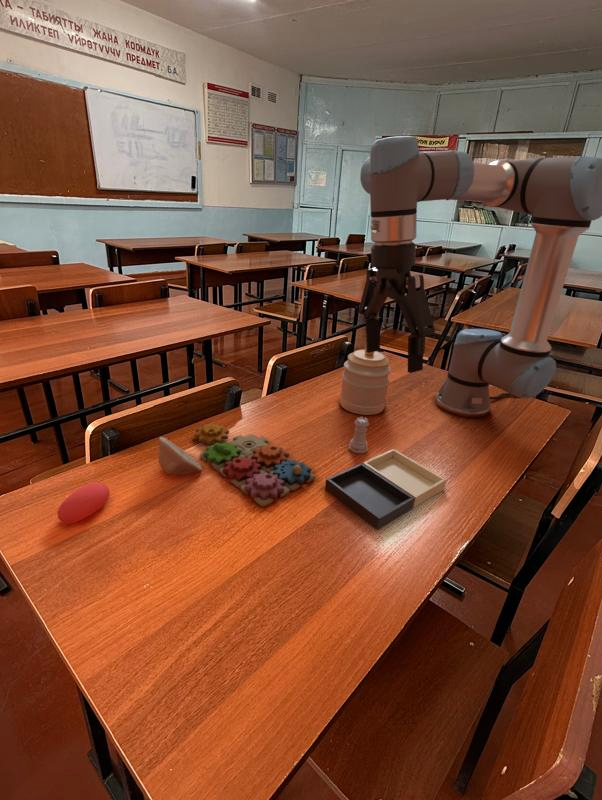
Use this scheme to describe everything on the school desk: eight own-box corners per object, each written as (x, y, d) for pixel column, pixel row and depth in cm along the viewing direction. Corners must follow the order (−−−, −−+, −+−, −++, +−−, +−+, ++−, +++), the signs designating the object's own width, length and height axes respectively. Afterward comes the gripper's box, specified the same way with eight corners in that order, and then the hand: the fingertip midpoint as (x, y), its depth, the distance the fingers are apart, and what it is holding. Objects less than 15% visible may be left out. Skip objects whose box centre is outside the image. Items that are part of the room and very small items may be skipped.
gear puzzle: (175, 440, 100) (174, 425, 98) (233, 420, 110) (233, 406, 109) (261, 510, 80) (262, 492, 79) (322, 478, 91) (323, 461, 89)
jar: (331, 398, 127) (337, 340, 119) (368, 393, 132) (377, 337, 125) (353, 419, 116) (362, 356, 109) (393, 412, 122) (404, 352, 114)
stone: (209, 465, 94) (210, 447, 86) (192, 492, 90) (191, 476, 82) (166, 442, 94) (164, 422, 86) (148, 469, 91) (143, 451, 82)
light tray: (391, 457, 100) (393, 448, 99) (444, 489, 91) (446, 479, 90) (361, 472, 94) (362, 462, 93) (413, 507, 84) (416, 497, 83)
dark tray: (360, 472, 94) (361, 462, 93) (412, 508, 84) (415, 498, 83) (324, 489, 88) (326, 478, 87) (377, 529, 78) (379, 518, 77)
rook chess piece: (366, 456, 100) (371, 425, 97) (347, 452, 101) (351, 422, 97) (368, 446, 104) (372, 416, 101) (349, 443, 105) (353, 413, 101)
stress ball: (119, 516, 78) (119, 480, 79) (70, 526, 70) (70, 487, 71) (101, 514, 81) (101, 479, 81) (52, 524, 73) (52, 485, 73)
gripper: (338, 241, 83) (343, 347, 92) (422, 249, 62) (418, 386, 71) (372, 237, 86) (373, 340, 95) (463, 243, 65) (454, 375, 74)
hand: (392, 360), depth 83 cm, fingers open, 13 cm apart
